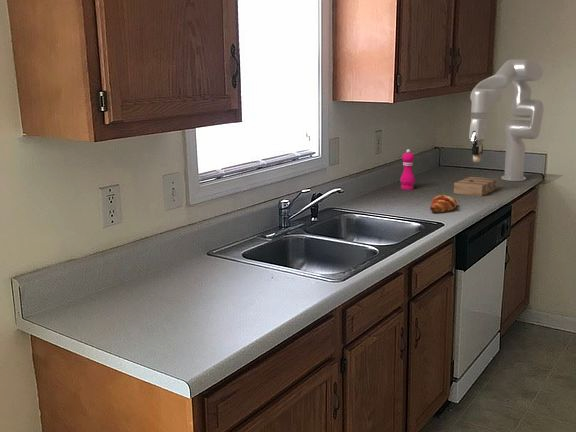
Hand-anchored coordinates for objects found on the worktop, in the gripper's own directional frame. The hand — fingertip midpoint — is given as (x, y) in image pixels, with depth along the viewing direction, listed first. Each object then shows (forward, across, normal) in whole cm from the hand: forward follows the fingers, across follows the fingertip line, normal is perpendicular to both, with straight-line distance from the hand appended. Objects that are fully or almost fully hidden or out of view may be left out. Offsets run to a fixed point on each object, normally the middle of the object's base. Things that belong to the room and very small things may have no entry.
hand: (477, 153), depth 314 cm
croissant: (+19, +44, +4) cm, 48 cm away
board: (+19, 0, 0) cm, 19 cm away
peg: (+4, 0, 0) cm, 4 cm away
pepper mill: (+19, +12, -31) cm, 38 cm away
